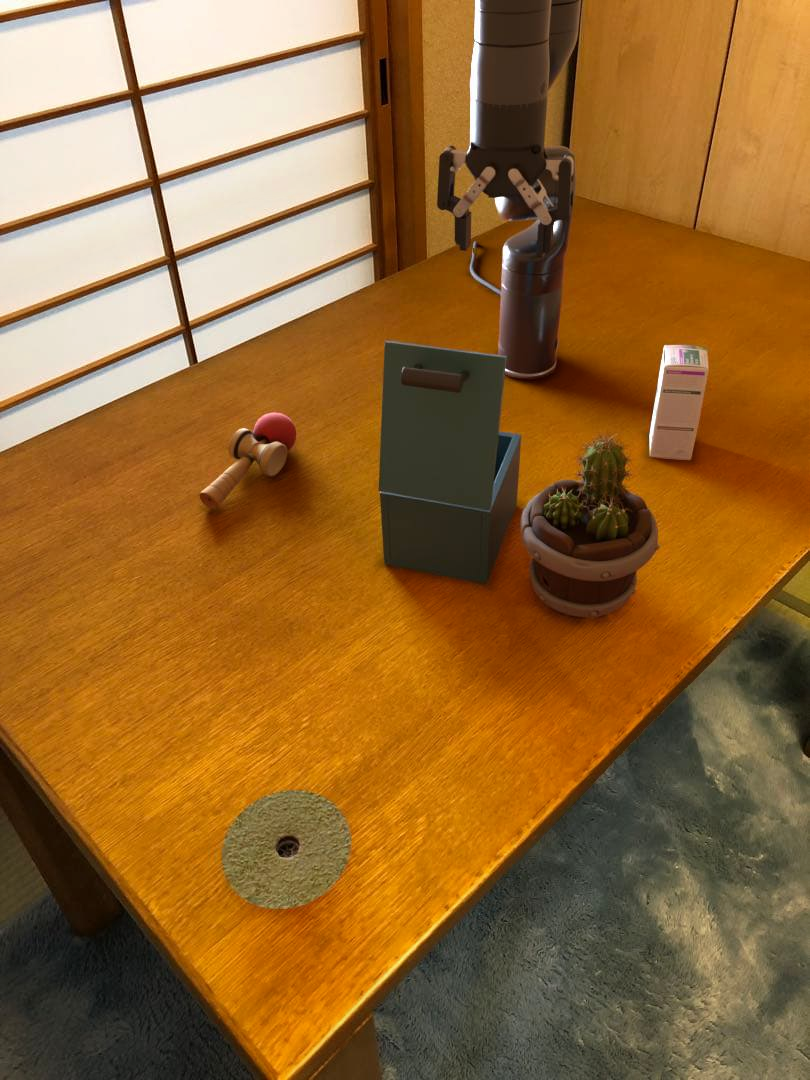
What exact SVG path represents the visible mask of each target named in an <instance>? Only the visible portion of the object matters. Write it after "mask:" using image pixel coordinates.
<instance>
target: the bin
mask: <svg viewBox="0 0 810 1080" xmlns="http://www.w3.org/2000/svg"><path fill="white" fill-rule="evenodd" d="M521 447H522V434H521V433H513V432H506V431H500V430H499V436H498V446H497V455H496V465H495V474H494V484H493V493H492V503H491V509H490V510H483V509H478V508H472V507H466V506H461V505H455V504H449V503H444V502H438V501H433V500H427V499H421V498H416V497H410V496H404V495H399V494H393V493H387V492H382V491H379V501H380V502H379V503H380V517H381V533H382V549H383V563H384V565H387V566H391V567H396V568H400V569H405V570H412V571H417V572H421V573H427V574H432V575H435V576H436V575H437V576H442V577H446V578H451V579H455V580H456V579H457V580H461V581H466V582H472V583H477V584H482V585H486V586H487V585H488V583H489V580H490V578H491V575H492V572H493V569H494V567H495V564H496V562H497V559H498V557H499V555H500V551H501V548H502V545H503V543H504V540H505V538H506V534H507V532H508V529H509V527H510V524H511V521H512V519H513V516H514V513H515V510H516V508H517V505H518V493H519V479H520V478H519V477H520V463H521V462H520V461H521V449H522V448H521Z"/></svg>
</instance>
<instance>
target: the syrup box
mask: <svg viewBox="0 0 810 1080" xmlns="http://www.w3.org/2000/svg"><path fill="white" fill-rule="evenodd" d="M659 367H660V368H659V372H658V373H659V374H658V379H657V386H656V393H655V398H654V404H653V409H652V410H653V411H652V417H651V423H650V429H649V457H651V458H657V459H666V460H679V461H691V459H692V457H693V451H694V448H695V442H696V438H697V434H698V428H699V422H700V419H701V418H700V417H701V412H702V407H703V402H704V396H705V391H706V387H707V381H708V375H709V370H710V367H709V355H708V348H707V347H705V346H699V345H698V346H697V345H690V344H664V346H663V350H662V357H661V361H660V366H659Z"/></svg>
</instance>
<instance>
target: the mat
mask: <svg viewBox="0 0 810 1080" xmlns="http://www.w3.org/2000/svg"><path fill="white" fill-rule="evenodd" d="M236 816H237V817H236V818H234V820H233V821H232V822H231V824H230V826H229V827H228V829H227V832H226V834H225V836H224V839H223V843H222V848H221V859H220V861H221V864H222V871H223V873H224V876H225V878H226V881H227V882H228V883H229V885H230V887H231V889H232V890H233V891H234V892H235V893H236V894H237V895H238V896H239V897H240V898H241V899H243V900H244V901H245V902H247V903H250V904H251V905H254V906H257V907H260V908H261V907H262V908H263V909H273V910H277V909H278V910H280V909H281V910H283V909H292V908H298V907H302V906H303V905H307V904H309V903H311V902H313V901H315V900H317V899H319V898H320V897H321V896H323V895H324V894H326V892H328V891H329V890H330V889H331V888H333V886H334V885H335V883H336V882H337V881H338V880H339V879H340V878H341V877H342V875H343V873H344V871H345V869H346V867H347V865H348V863H349V859H350V856H351V850H352V834H351V829H350V826H349V823H348V819H346V818H345V816H344V813H342V811H341V809H340V808H339V807H338V806H337V805H336V804H335V803H334V802H332V801H331V800H330V799H327V798H326V797H325V796H322V795H321V794H317V793H316V792H313V791H312V792H311V791H308V790H302V789H299V790H298V789H289V790H281V791H277V792H272V793H270V794H266V795H264V796H261V797H259V798H258V799H255V800H254V802H252V803H250V804H249V805H247V807H245V808H244V809H243V810H242V811H241V812H239V814H238V815H236Z"/></svg>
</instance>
